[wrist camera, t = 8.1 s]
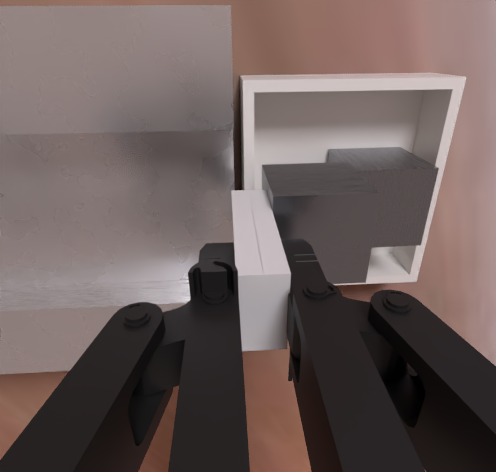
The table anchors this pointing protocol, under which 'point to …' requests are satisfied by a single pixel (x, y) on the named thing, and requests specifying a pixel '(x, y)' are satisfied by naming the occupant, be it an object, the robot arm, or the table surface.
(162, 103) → the slot block
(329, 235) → the dark gray cube
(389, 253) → the tray
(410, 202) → the dark grey cube
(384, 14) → the table surface
